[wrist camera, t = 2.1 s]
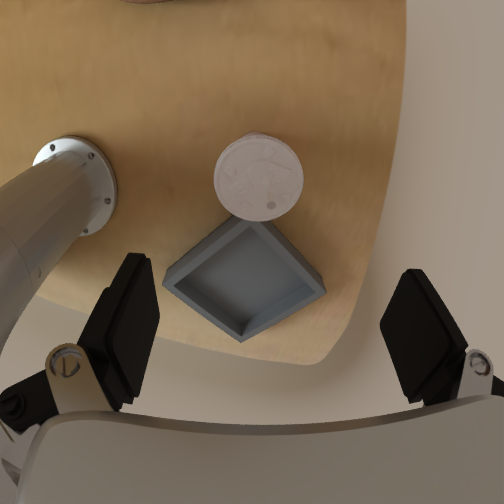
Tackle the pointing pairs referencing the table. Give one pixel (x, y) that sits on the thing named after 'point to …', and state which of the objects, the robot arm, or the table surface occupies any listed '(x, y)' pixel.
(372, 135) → the table surface
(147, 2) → the ceramic jug
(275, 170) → the smoothie
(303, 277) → the tray
